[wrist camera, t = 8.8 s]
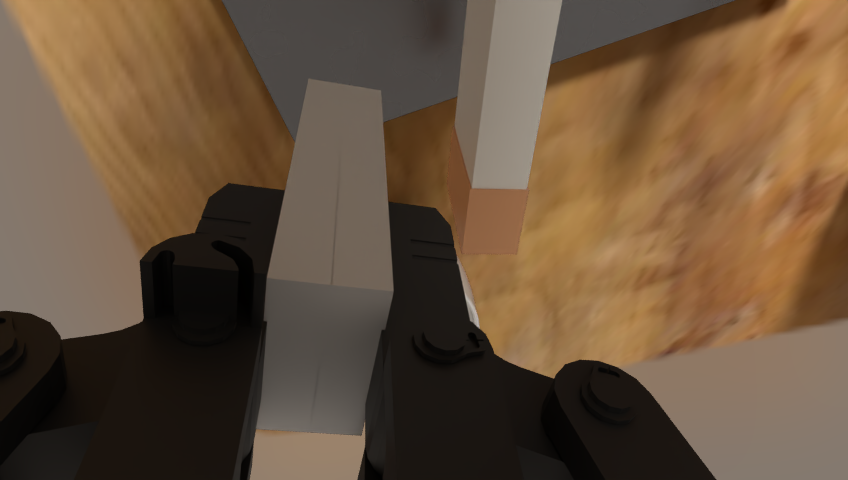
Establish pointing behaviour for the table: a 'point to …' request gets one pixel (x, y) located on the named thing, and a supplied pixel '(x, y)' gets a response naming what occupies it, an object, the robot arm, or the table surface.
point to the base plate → (408, 43)
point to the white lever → (498, 118)
